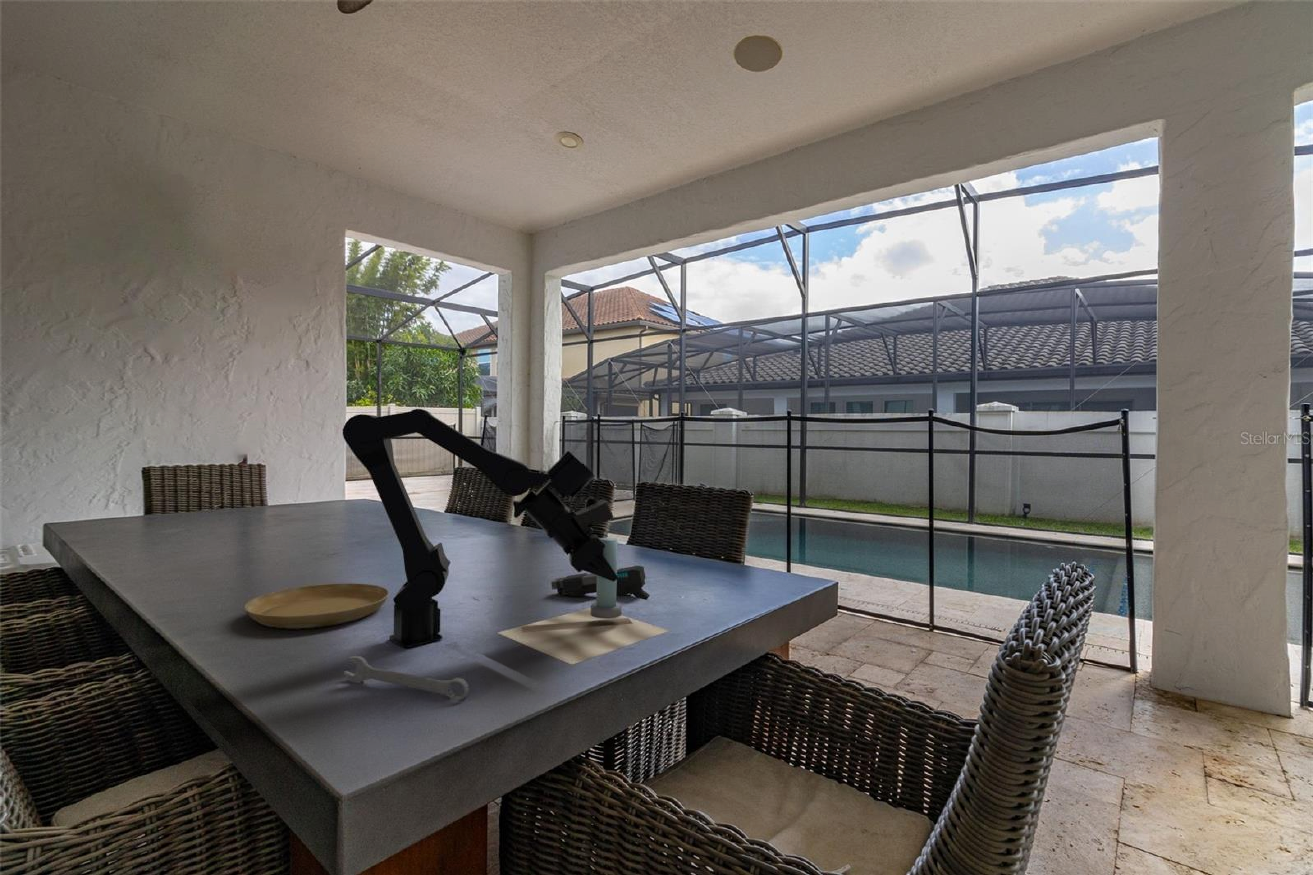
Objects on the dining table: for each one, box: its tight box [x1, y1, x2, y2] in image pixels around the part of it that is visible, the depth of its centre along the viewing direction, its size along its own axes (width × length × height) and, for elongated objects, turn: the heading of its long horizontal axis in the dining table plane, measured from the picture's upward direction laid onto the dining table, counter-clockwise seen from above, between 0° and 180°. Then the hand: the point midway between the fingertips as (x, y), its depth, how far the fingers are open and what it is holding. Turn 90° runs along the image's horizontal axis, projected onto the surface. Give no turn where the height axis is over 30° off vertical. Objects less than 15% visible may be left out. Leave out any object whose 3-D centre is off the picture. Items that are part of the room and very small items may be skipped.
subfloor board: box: [497, 607, 671, 666], centre depth 105 cm, size 22×20×1 cm
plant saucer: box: [244, 582, 390, 630], centre depth 116 cm, size 24×24×3 cm
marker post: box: [590, 537, 623, 619], centre depth 110 cm, size 6×6×14 cm
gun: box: [550, 565, 651, 601], centre depth 130 cm, size 4×20×10 cm, turn 79°
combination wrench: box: [343, 655, 470, 701], centre depth 83 cm, size 4×1×20 cm
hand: (614, 576), depth 110 cm, fingers closed on marker post, 4 cm apart
